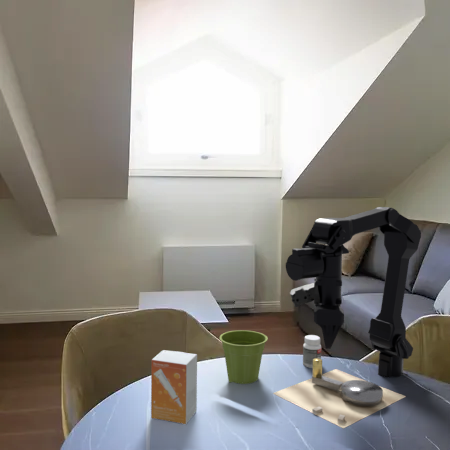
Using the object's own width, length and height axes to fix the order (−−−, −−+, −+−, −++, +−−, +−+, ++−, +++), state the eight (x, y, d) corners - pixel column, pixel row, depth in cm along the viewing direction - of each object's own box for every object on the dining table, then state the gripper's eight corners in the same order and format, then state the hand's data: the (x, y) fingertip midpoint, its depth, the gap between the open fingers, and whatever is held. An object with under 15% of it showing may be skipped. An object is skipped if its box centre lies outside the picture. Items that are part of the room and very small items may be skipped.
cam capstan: (388, 396, 114) (390, 372, 113) (371, 410, 107) (373, 385, 106) (322, 375, 125) (323, 353, 124) (302, 387, 118) (303, 364, 117)
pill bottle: (320, 372, 131) (321, 341, 130) (302, 370, 132) (303, 339, 131) (320, 365, 135) (321, 335, 134) (303, 363, 136) (304, 333, 135)
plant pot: (274, 378, 126) (276, 335, 125) (251, 396, 117) (252, 349, 115) (235, 367, 133) (235, 326, 132) (209, 383, 123) (210, 339, 122)
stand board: (335, 372, 130) (336, 366, 130) (405, 400, 115) (406, 393, 115) (272, 397, 116) (272, 389, 116) (343, 433, 101) (343, 424, 100)
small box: (150, 419, 105) (150, 359, 104) (163, 405, 111) (163, 348, 110) (186, 425, 103) (186, 364, 101) (197, 411, 109) (197, 353, 107)
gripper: (294, 265, 124) (294, 326, 126) (290, 283, 105) (290, 354, 107) (340, 266, 122) (339, 328, 124) (344, 285, 103) (343, 357, 105)
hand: (327, 341), depth 115 cm, fingers open, 9 cm apart
